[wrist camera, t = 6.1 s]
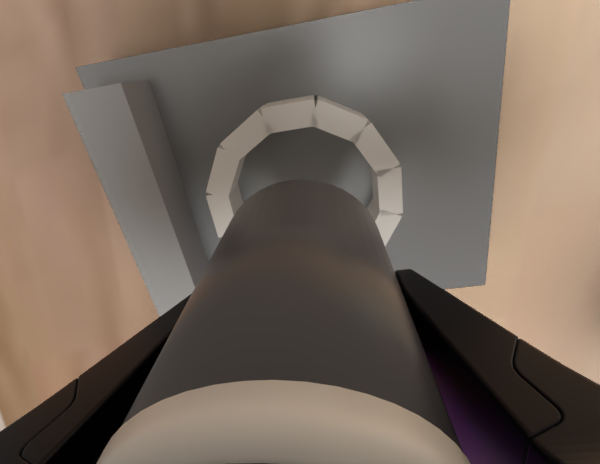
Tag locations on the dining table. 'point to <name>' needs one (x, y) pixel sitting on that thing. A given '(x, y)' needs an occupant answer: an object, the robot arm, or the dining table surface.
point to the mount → (306, 134)
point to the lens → (292, 350)
